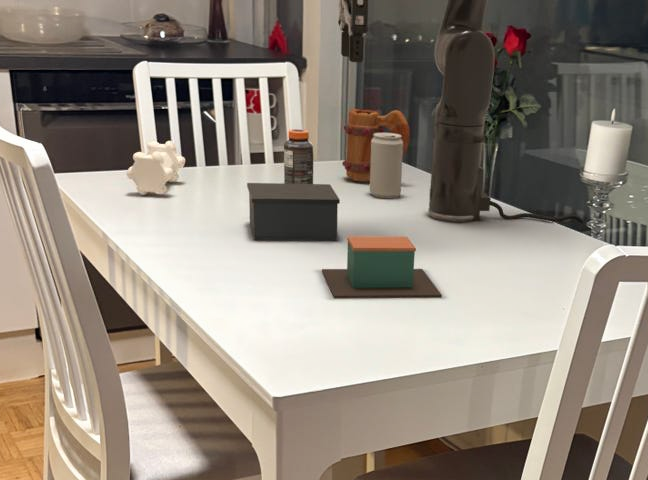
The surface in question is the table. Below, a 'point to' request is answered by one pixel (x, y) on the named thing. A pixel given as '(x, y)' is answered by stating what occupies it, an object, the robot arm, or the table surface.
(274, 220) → the bottom box
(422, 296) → the mat
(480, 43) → the robot arm
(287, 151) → the pill bottle
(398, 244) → the orange and teal box
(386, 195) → the beverage can
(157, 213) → the table surface
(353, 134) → the mug
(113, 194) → the table surface
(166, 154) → the white bone
